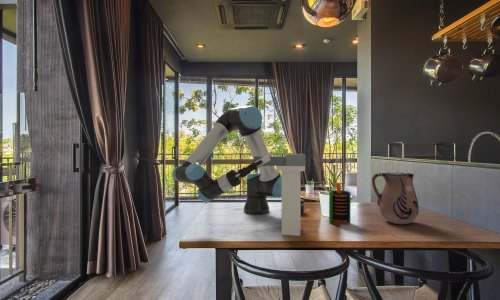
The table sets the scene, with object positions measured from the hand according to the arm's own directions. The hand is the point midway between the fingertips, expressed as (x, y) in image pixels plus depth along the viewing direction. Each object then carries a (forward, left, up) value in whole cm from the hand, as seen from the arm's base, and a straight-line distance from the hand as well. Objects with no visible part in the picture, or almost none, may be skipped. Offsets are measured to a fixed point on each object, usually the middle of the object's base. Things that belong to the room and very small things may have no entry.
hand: (270, 156), depth 127 cm
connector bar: (+1, +4, -4) cm, 5 cm away
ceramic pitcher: (-30, +60, -34) cm, 75 cm away
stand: (-5, +9, -34) cm, 35 cm away
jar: (-43, +10, -34) cm, 56 cm away
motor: (-24, +32, -34) cm, 52 cm away
